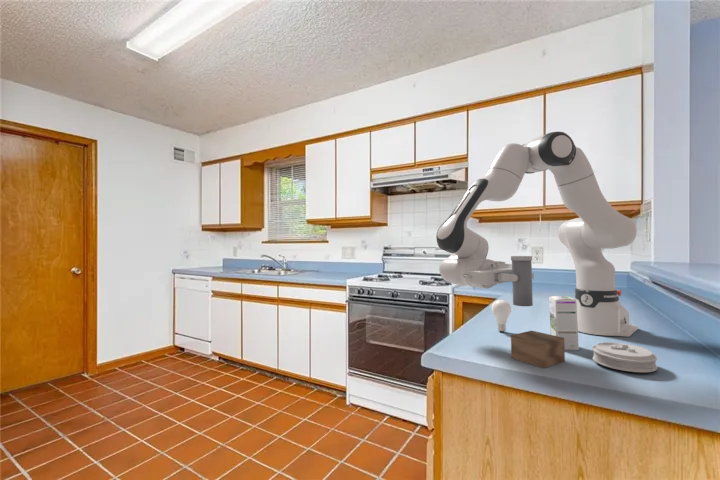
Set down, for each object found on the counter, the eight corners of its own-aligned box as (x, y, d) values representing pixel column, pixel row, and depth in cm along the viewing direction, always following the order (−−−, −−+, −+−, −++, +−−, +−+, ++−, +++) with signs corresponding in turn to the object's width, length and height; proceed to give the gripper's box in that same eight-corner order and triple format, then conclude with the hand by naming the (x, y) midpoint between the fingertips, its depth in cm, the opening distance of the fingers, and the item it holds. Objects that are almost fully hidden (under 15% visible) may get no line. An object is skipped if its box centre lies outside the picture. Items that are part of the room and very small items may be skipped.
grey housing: (520, 302, 96) (518, 255, 96) (537, 304, 92) (536, 256, 92) (508, 304, 93) (506, 256, 94) (525, 307, 89) (524, 257, 89)
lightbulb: (506, 335, 113) (505, 302, 114) (488, 331, 118) (487, 299, 118) (515, 331, 118) (514, 299, 118) (497, 328, 122) (496, 297, 122)
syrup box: (579, 350, 96) (578, 299, 96) (556, 349, 98) (555, 298, 98) (571, 344, 102) (570, 295, 102) (549, 344, 103) (548, 295, 103)
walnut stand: (531, 351, 96) (531, 330, 96) (564, 361, 88) (564, 337, 88) (511, 357, 92) (511, 335, 92) (544, 368, 84) (543, 343, 84)
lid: (580, 360, 89) (580, 341, 89) (619, 356, 92) (618, 337, 92) (628, 379, 77) (628, 356, 77) (671, 373, 80) (671, 351, 80)
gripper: (458, 265, 99) (499, 267, 87) (504, 261, 109) (546, 263, 97) (458, 287, 99) (499, 292, 87) (505, 281, 109) (547, 285, 97)
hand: (525, 277), depth 92 cm, fingers closed on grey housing, 5 cm apart
